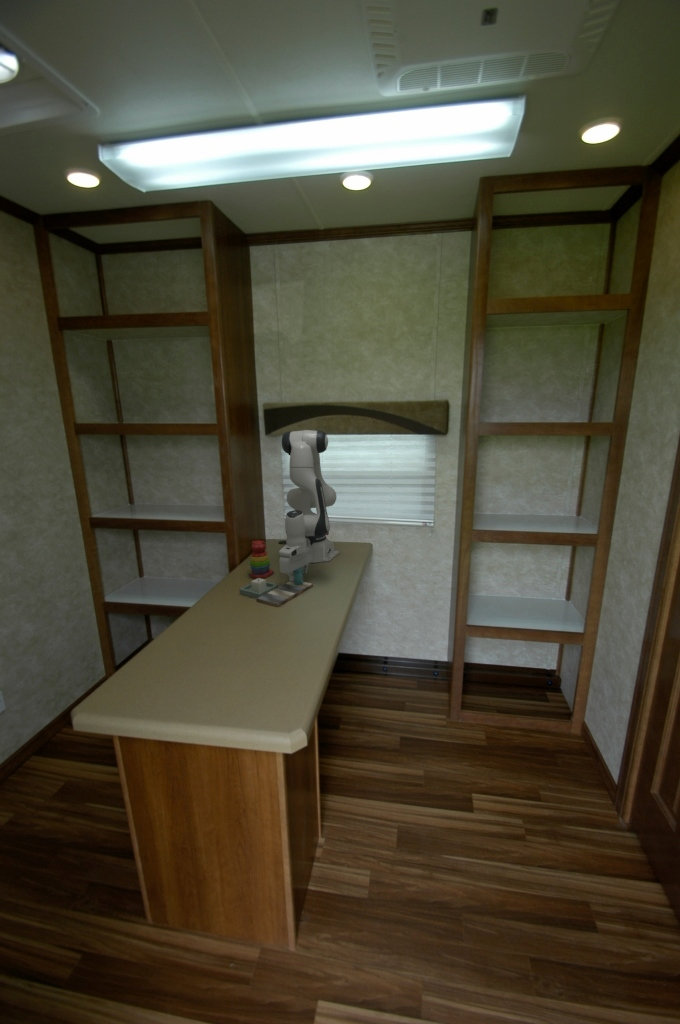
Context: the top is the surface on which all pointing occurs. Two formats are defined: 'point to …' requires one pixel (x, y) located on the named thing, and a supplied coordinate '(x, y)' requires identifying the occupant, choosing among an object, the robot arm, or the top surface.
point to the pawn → (298, 576)
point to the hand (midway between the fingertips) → (298, 576)
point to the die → (258, 585)
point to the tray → (248, 592)
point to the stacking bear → (260, 561)
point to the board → (284, 593)
